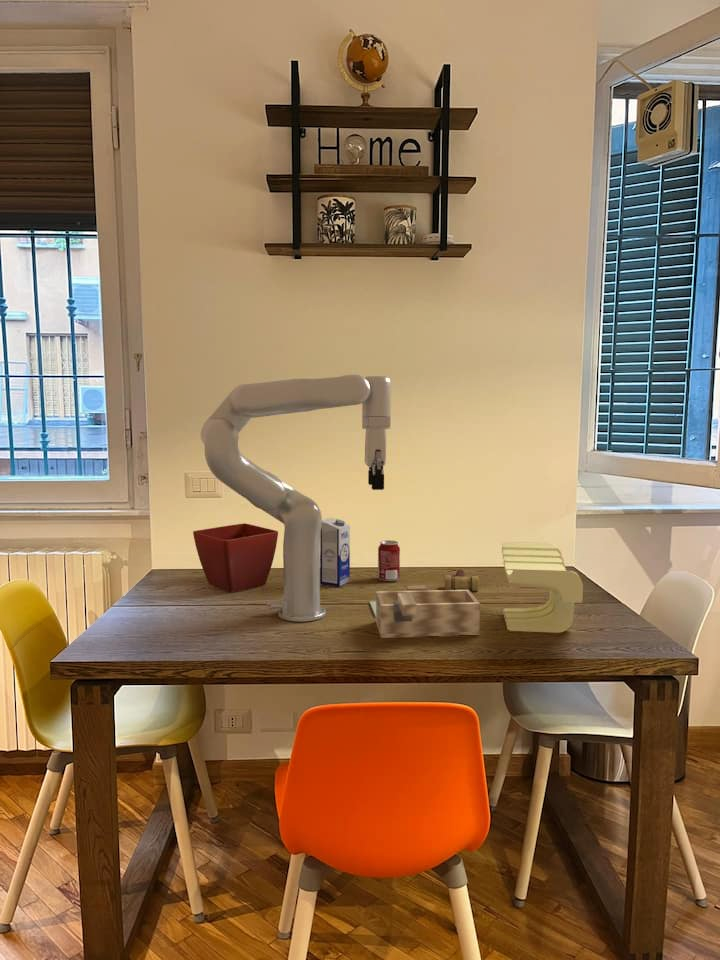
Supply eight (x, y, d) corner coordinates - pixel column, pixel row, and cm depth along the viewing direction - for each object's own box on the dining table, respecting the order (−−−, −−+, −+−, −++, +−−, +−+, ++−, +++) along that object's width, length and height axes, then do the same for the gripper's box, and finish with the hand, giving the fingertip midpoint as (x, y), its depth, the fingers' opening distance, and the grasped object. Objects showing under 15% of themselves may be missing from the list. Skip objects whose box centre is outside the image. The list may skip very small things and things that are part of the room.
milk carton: (331, 579, 222) (330, 516, 220) (350, 581, 219) (350, 518, 217) (319, 584, 216) (319, 520, 214) (339, 587, 213) (339, 522, 211)
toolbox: (382, 642, 167) (382, 604, 166) (376, 621, 182) (376, 586, 181) (482, 639, 169) (483, 602, 168) (467, 619, 184) (468, 585, 183)
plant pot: (192, 584, 216) (191, 530, 214) (245, 573, 229) (244, 522, 227) (226, 598, 202) (224, 540, 200) (280, 586, 215) (280, 531, 213)
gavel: (444, 564, 230) (475, 565, 229) (444, 578, 231) (475, 579, 229) (444, 576, 210) (478, 577, 208) (444, 591, 210) (478, 593, 209)
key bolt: (402, 615, 157) (403, 604, 157) (397, 603, 166) (397, 593, 166) (416, 615, 157) (416, 604, 157) (410, 603, 166) (410, 592, 166)
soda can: (400, 582, 219) (400, 544, 217) (378, 582, 219) (378, 544, 217) (398, 576, 225) (399, 539, 224) (377, 576, 225) (377, 539, 224)
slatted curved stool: (580, 645, 165) (583, 571, 163) (511, 642, 167) (513, 569, 165) (559, 606, 195) (561, 543, 193) (500, 604, 197) (502, 541, 194)
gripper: (359, 421, 196) (359, 482, 198) (364, 424, 179) (364, 491, 181) (386, 421, 196) (386, 482, 198) (394, 424, 179) (393, 491, 181)
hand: (375, 487), depth 190 cm, fingers open, 9 cm apart
